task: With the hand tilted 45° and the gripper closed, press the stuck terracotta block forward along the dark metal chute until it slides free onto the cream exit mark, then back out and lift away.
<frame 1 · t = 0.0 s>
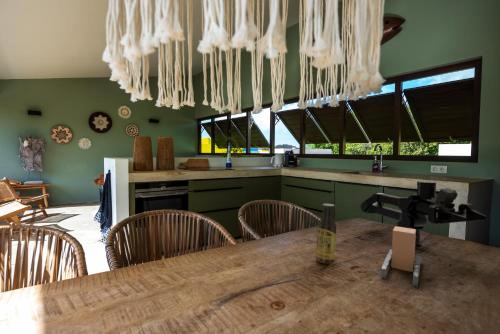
hand: (476, 218, 91), 17 cm above the table, tool horizontal, fingers open, 9 cm apart
sauce bottle: (325, 261, 95), on the table
chute: (401, 273, 87), on the table
terracotta block: (403, 248, 89), point 7 cm above the table, slide at 0.0 cm
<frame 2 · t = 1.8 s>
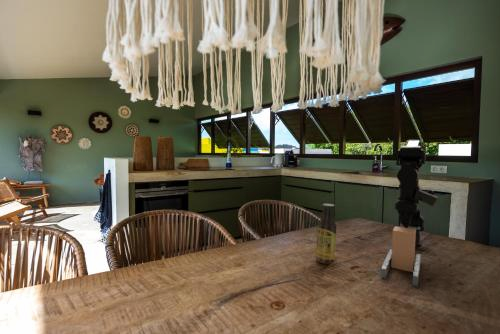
hand: (406, 226, 97), 12 cm above the table, tool pointing down, fingers open, 5 cm apart
nothing on the table moved.
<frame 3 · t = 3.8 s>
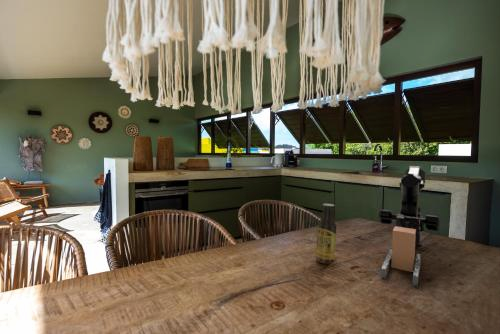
hand: (405, 240, 96), 7 cm above the table, tool tilted 45°, fingers closed
nothing on the table moved.
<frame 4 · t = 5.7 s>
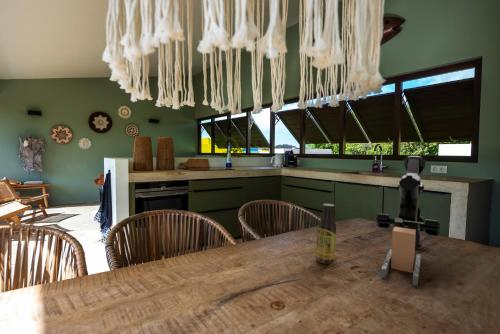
hand: (404, 245, 91), 7 cm above the table, tool tilted 45°, fingers closed, pressing on terracotta block
terracotta block: (403, 248, 88), point 7 cm above the table, slide at 0.7 cm, touching gripper
everything else where it was.
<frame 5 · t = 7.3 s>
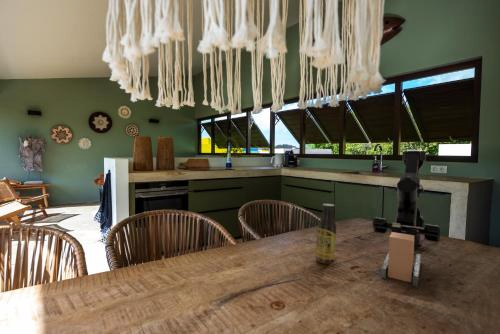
hand: (402, 252, 85), 7 cm above the table, tool tilted 45°, fingers closed, pressing on terracotta block
terracotta block: (401, 256, 82), point 7 cm above the table, slide at 8.2 cm, touching gripper
everything else where it was.
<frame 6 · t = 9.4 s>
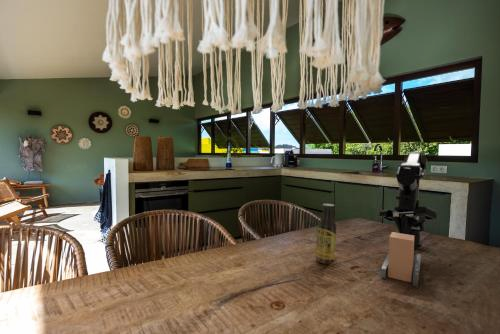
hand: (403, 238, 95), 8 cm above the table, tool tilted 30°, fingers closed
terracotta block: (401, 256, 82), point 7 cm above the table, slide at 8.2 cm
everything else where it was.
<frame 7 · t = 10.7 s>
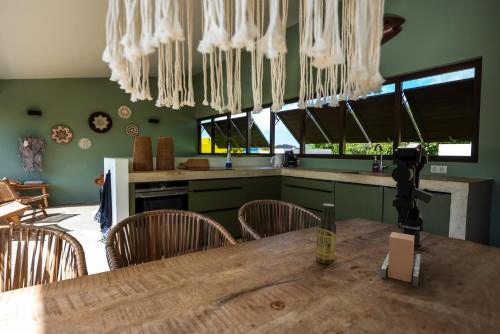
hand: (403, 223, 101), 12 cm above the table, tool pointing down, fingers closed
nothing on the table moved.
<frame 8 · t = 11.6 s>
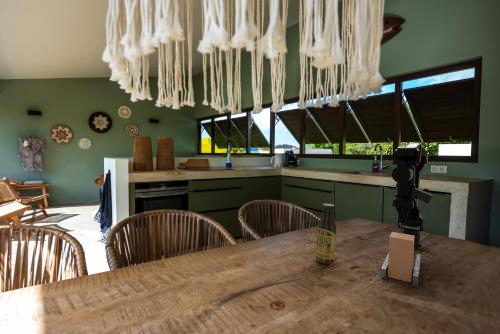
hand: (403, 223, 101), 12 cm above the table, tool pointing down, fingers closed
nothing on the table moved.
at the end: terracotta block slide at 8.2 cm; sauce bottle moved 0.2 cm from its start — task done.
